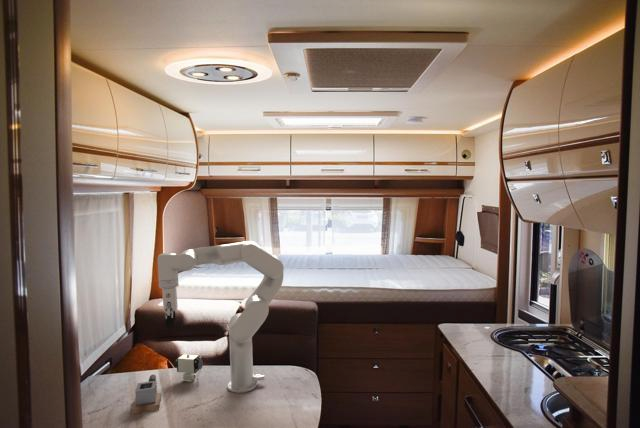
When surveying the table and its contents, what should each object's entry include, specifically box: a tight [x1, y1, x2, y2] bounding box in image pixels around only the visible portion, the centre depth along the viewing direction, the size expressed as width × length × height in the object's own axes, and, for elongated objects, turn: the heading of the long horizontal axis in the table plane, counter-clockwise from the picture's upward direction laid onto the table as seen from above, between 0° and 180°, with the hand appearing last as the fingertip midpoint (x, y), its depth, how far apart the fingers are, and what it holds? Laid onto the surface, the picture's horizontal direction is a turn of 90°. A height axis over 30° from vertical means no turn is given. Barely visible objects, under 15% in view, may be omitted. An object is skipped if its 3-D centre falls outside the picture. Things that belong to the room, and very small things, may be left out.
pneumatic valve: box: [173, 353, 204, 383], centre depth 183 cm, size 6×12×12 cm, turn 78°
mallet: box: [130, 374, 163, 415], centre depth 171 cm, size 10×27×6 cm, turn 17°
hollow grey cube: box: [135, 380, 158, 406], centre depth 162 cm, size 7×7×6 cm
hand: (170, 323), depth 168 cm, fingers open, 9 cm apart
